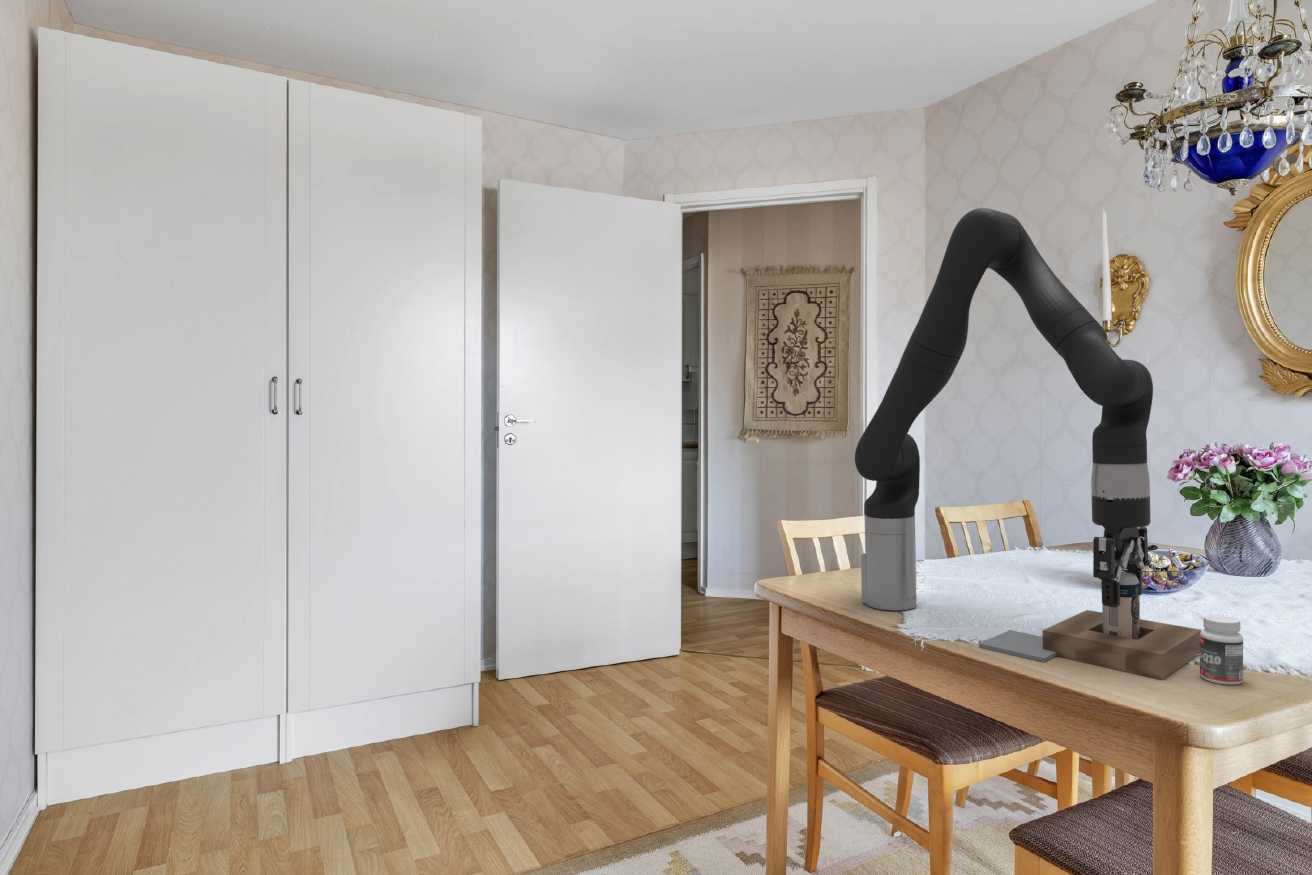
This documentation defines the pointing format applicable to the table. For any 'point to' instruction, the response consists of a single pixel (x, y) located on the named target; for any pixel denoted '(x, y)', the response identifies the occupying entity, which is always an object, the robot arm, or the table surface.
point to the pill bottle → (1221, 650)
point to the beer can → (1124, 610)
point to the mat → (1019, 645)
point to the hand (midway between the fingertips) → (1122, 600)
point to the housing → (1124, 645)
